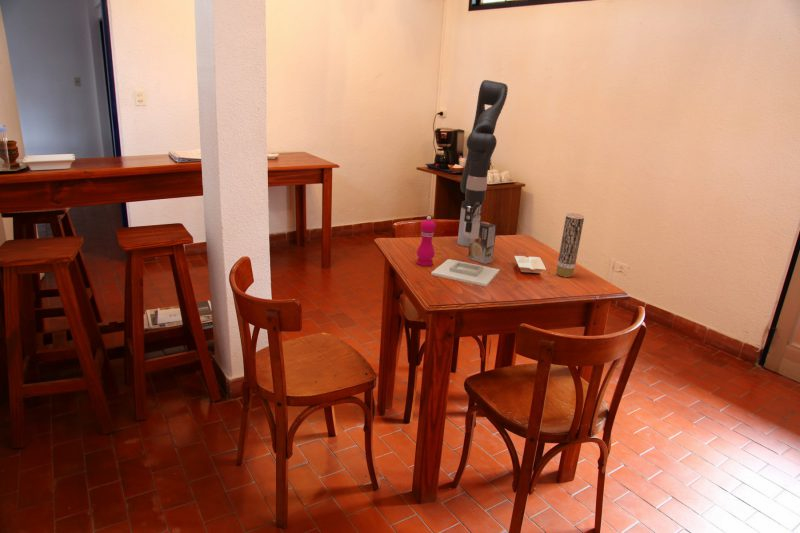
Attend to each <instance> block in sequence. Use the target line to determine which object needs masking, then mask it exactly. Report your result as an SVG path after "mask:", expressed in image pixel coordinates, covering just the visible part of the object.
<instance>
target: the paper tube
mask: <svg viewBox="0 0 800 533" xmlns="http://www.w3.org/2000/svg"><path fill="white" fill-rule="evenodd" d="M564 220H565V221H564V225H563V231H562V236H561V244H560V248H559V254H558V259H557V265H556V270H555V271H556V272H555V273H556V275H557V274H558V275H557V276H559V275H560V277H561V276H566V277H565V278H567V277H568V278H572V277H573V276H574V274H575V267H576V264H577V258H578V251H579V247H580V241H581V237H582V231H583V225H584V221H585V216H584V215H583V214H579V213H574V212H573V213H570V212H569V213H566V215H565V218H564ZM569 276H570V277H569ZM571 276H572V277H571Z"/></svg>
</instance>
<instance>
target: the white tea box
mask: <svg viewBox="0 0 800 533" xmlns="http://www.w3.org/2000/svg"><path fill="white" fill-rule="evenodd" d="M468 219H470V217H469V218H468ZM465 228H466V222H464V231H463V234H464V235H465V236H466V237H467V238H469V239H478V236H479V228H480V222H479V219H478V215H477V213H476V215H475V218H474V219H473V222H472V230H471V232H470V233H469V232H465Z"/></svg>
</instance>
